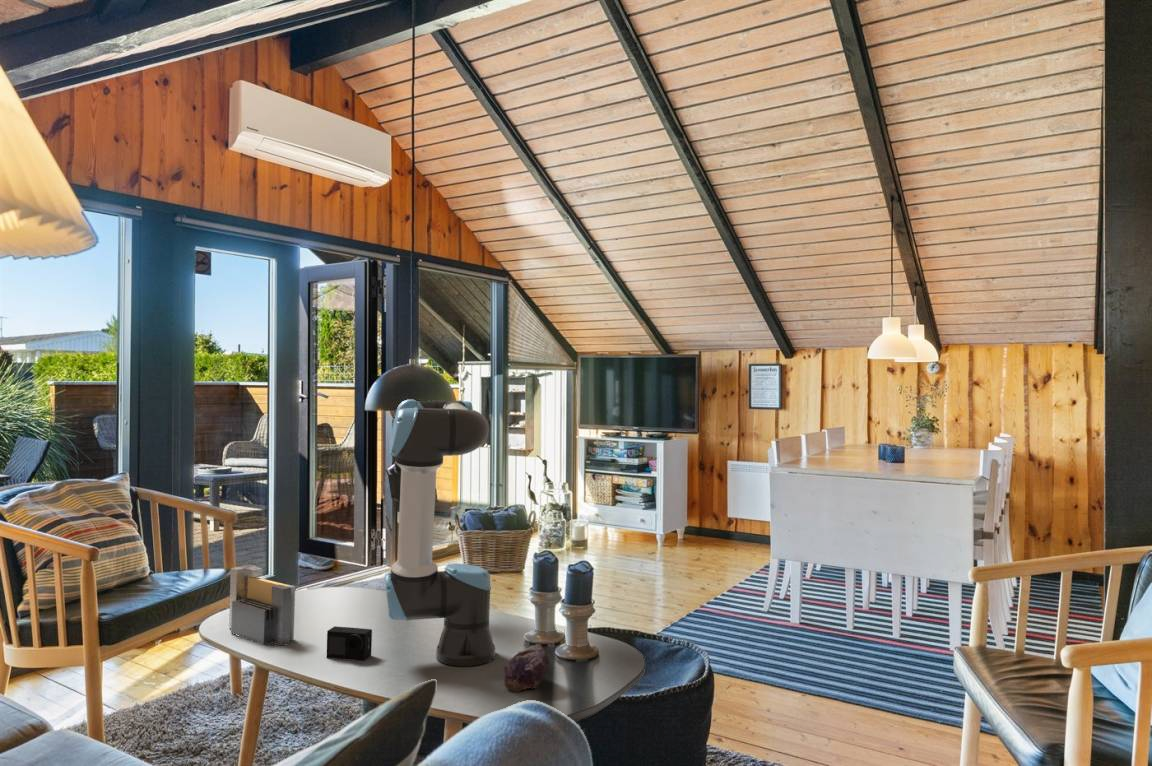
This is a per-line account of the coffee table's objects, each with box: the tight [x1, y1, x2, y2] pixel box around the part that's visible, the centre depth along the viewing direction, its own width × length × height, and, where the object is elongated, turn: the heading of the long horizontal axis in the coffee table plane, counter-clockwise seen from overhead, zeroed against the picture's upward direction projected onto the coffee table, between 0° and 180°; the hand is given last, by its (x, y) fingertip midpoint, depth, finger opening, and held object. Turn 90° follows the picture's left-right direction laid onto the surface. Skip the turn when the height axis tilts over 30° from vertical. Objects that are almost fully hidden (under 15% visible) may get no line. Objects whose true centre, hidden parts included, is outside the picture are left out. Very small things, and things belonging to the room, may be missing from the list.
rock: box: [503, 644, 551, 692], centre depth 185 cm, size 12×9×10 cm
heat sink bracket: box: [228, 564, 291, 646], centre depth 218 cm, size 24×8×17 cm, turn 55°
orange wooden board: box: [247, 576, 296, 641], centre depth 219 cm, size 19×2×14 cm, turn 56°
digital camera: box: [326, 626, 373, 662], centre depth 202 cm, size 10×5×7 cm, turn 80°
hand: (402, 522), depth 239 cm, fingers closed
